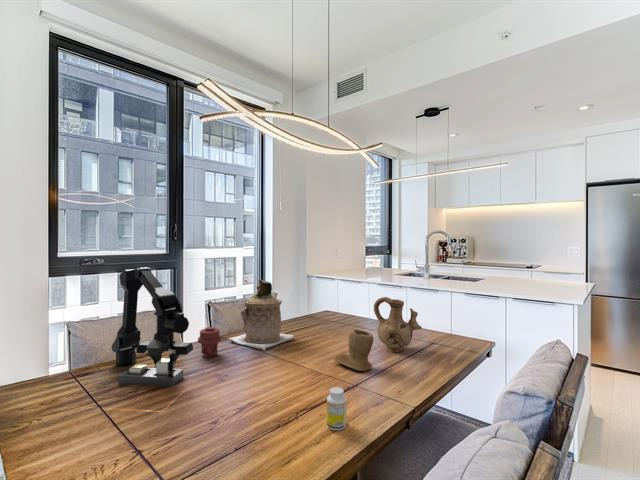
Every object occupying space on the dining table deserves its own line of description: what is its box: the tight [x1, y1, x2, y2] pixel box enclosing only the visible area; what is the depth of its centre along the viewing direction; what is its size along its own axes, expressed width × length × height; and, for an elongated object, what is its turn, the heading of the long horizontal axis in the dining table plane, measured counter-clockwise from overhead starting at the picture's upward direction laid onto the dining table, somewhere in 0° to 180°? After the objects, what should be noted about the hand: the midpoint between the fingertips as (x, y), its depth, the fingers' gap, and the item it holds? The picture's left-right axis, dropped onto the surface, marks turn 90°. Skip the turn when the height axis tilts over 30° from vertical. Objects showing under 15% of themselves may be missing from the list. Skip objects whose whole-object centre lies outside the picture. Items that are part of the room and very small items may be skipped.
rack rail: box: [117, 367, 184, 387], centre depth 125 cm, size 20×8×4 cm, turn 86°
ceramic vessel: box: [373, 296, 423, 352], centre depth 164 cm, size 18×19×25 cm
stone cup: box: [333, 328, 374, 372], centre depth 142 cm, size 15×12×15 cm
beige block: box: [129, 364, 148, 375], centre depth 125 cm, size 4×4×5 cm
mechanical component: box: [197, 326, 222, 359], centre depth 153 cm, size 12×10×10 cm
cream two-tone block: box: [155, 358, 173, 376], centre depth 125 cm, size 4×4×5 cm
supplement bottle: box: [326, 386, 347, 431], centre depth 97 cm, size 6×6×10 cm
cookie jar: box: [228, 279, 294, 351], centre depth 176 cm, size 25×25×32 cm
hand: (164, 371), depth 125 cm, fingers closed on cream two-tone block, 4 cm apart
